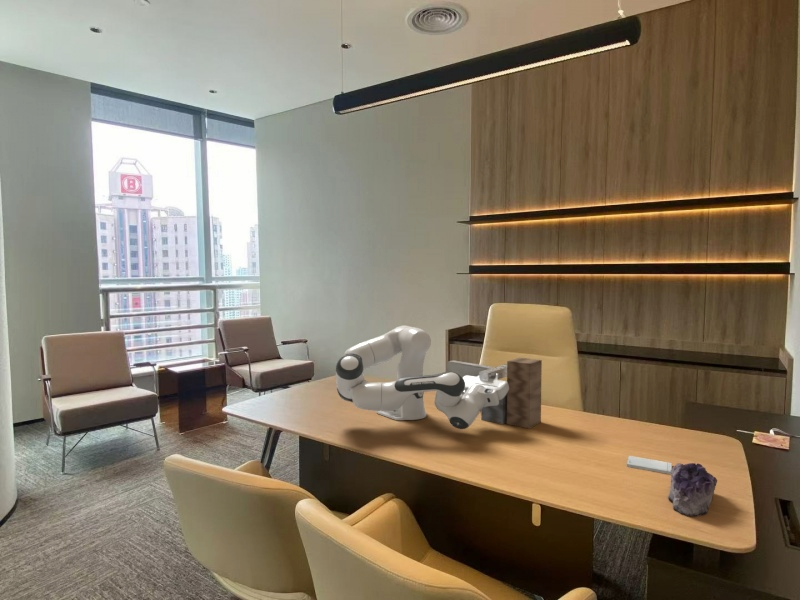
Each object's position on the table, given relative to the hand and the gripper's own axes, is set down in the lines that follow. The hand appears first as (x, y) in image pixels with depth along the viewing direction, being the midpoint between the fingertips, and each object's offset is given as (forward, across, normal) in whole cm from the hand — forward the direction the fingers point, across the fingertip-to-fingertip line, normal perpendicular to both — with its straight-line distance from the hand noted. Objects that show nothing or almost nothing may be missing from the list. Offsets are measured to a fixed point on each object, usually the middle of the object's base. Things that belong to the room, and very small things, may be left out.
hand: (491, 373), depth 196 cm
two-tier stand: (-4, +5, -21) cm, 22 cm away
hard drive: (-18, +61, -14) cm, 65 cm away
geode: (-35, +76, -4) cm, 83 cm away
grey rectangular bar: (+2, 0, -4) cm, 5 cm away
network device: (+4, -20, -26) cm, 33 cm away
